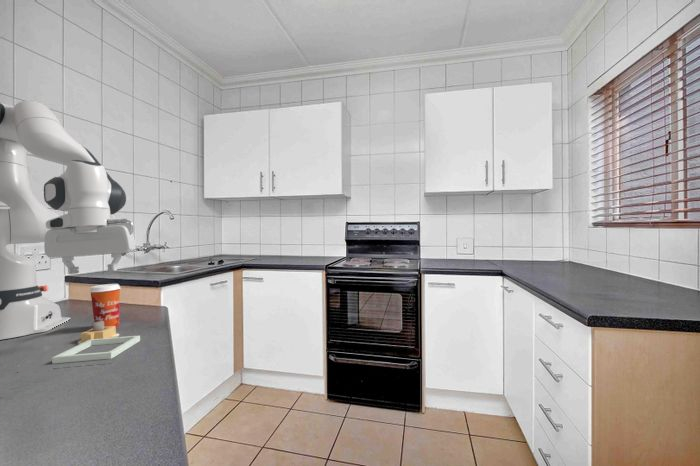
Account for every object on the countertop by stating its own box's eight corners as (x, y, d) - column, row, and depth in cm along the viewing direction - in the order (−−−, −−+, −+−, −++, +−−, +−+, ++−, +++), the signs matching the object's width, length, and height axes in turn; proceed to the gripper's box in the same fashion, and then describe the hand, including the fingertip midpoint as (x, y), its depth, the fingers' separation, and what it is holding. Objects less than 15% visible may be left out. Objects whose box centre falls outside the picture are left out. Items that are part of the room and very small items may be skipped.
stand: (92, 338, 91) (91, 319, 91) (126, 336, 92) (125, 316, 92) (68, 350, 82) (67, 328, 82) (106, 347, 83) (105, 325, 83)
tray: (90, 349, 82) (90, 339, 82) (140, 344, 83) (140, 335, 83) (52, 368, 70) (51, 357, 70) (111, 363, 71) (111, 352, 71)
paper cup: (96, 336, 93) (93, 288, 92) (88, 332, 97) (85, 286, 97) (127, 329, 99) (124, 284, 99) (118, 325, 103) (116, 282, 103)
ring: (95, 336, 89) (94, 327, 89) (115, 334, 90) (115, 325, 90) (77, 344, 82) (76, 335, 82) (99, 342, 83) (99, 333, 83)
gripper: (138, 219, 90) (141, 268, 90) (57, 223, 87) (60, 274, 87) (126, 217, 84) (129, 270, 84) (38, 222, 81) (41, 276, 81)
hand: (93, 272), depth 85 cm, fingers open, 8 cm apart
